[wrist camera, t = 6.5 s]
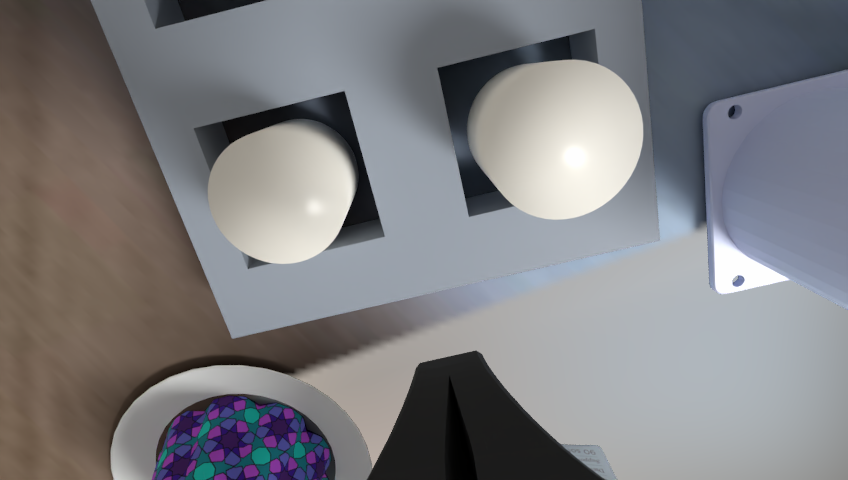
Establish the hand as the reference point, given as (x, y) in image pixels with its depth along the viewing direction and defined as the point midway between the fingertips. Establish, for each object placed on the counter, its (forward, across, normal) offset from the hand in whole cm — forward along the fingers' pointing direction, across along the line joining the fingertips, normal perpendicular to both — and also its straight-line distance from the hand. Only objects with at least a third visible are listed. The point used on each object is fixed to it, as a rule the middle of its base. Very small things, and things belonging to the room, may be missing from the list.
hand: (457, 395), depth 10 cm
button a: (+8, -4, -4) cm, 9 cm away
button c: (+9, +4, -4) cm, 11 cm away
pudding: (+10, +11, +9) cm, 18 cm away
